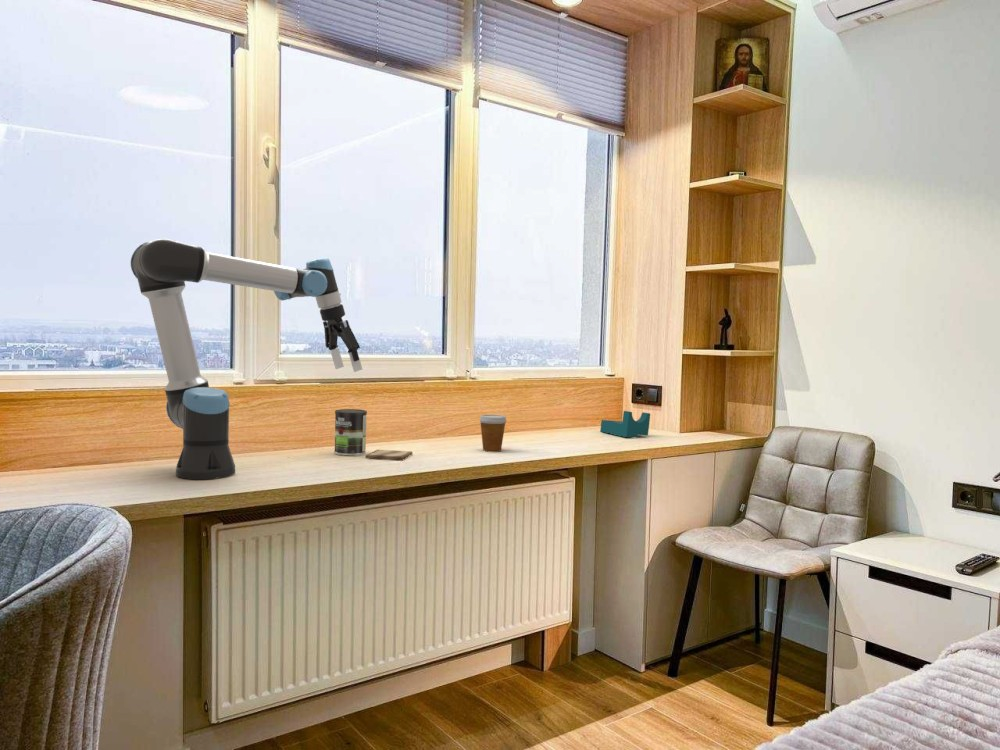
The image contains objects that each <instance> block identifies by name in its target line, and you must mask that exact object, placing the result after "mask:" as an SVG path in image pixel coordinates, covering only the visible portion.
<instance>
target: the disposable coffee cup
mask: <svg viewBox="0 0 1000 750" xmlns="http://www.w3.org/2000/svg"><path fill="white" fill-rule="evenodd" d="M478 421H479V422H480V430H481V431H480V432H481V441H482V442H481V443H482V451H484V450H485V451H484V452H488V451H498V452H501V451H502V446H503V441H504V433H505V428H506V427H505V426H506V422H507V421H508V420H507V418H506V416H505V415H501V414H482V415H480V417H479V419H478Z"/></svg>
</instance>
